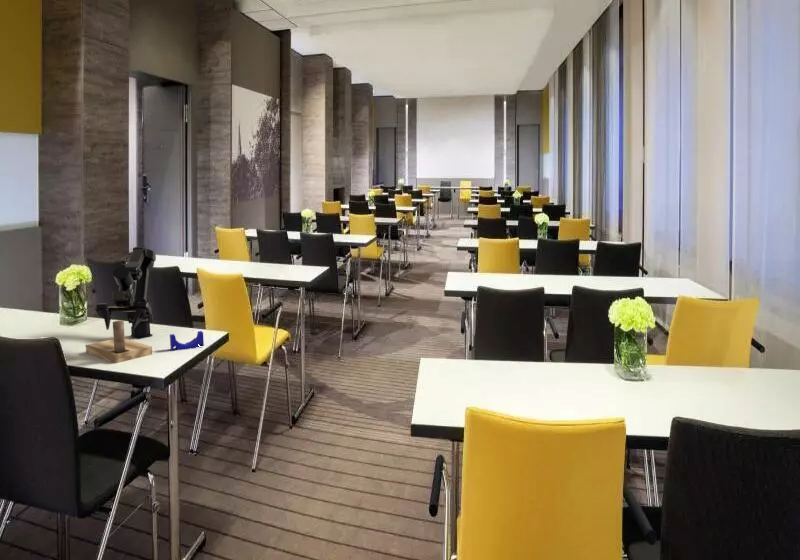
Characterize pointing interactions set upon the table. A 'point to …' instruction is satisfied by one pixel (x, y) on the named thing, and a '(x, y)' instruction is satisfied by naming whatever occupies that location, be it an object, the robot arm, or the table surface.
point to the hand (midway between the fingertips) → (120, 328)
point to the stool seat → (108, 352)
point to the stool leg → (119, 337)
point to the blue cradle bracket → (188, 345)
